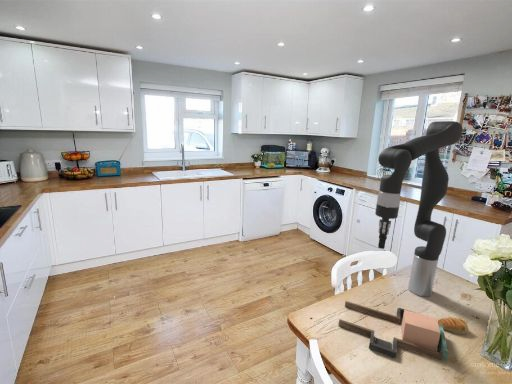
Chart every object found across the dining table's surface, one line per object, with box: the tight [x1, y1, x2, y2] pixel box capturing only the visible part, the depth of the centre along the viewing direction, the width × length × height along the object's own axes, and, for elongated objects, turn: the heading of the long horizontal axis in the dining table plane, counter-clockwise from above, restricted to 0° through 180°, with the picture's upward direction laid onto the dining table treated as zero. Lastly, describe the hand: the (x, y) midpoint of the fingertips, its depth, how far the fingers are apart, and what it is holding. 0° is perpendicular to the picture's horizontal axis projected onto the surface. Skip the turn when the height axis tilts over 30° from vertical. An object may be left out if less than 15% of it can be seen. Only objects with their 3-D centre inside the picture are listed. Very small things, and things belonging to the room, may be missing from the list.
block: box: [400, 309, 440, 352], centre depth 95 cm, size 8×10×8 cm
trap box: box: [338, 300, 449, 363], centre depth 99 cm, size 27×33×4 cm
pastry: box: [437, 316, 470, 335], centre depth 102 cm, size 9×7×4 cm
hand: (381, 247), depth 105 cm, fingers closed
